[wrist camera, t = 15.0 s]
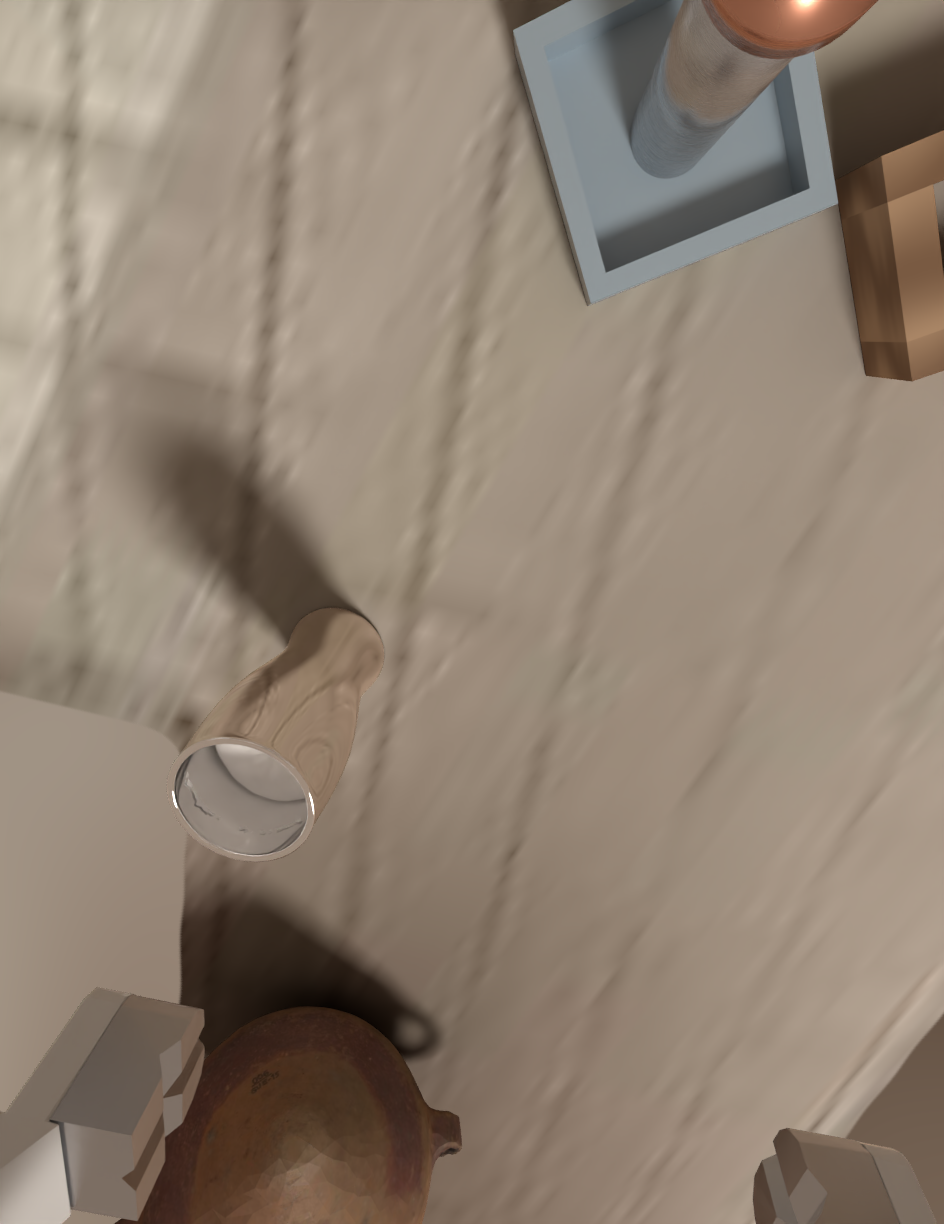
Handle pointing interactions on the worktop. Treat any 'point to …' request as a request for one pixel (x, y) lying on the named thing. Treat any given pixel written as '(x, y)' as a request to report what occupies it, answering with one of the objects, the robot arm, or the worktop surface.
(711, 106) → the pin
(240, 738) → the beer glass
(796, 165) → the tray
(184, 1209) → the jug
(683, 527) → the worktop surface
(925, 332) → the socket block
